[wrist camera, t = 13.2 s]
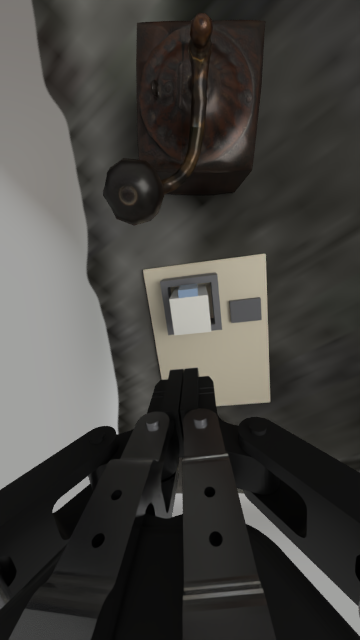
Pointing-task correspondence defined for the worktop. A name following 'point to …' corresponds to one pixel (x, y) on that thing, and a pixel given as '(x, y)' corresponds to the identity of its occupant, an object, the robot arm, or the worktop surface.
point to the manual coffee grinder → (190, 113)
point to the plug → (190, 309)
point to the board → (217, 326)
